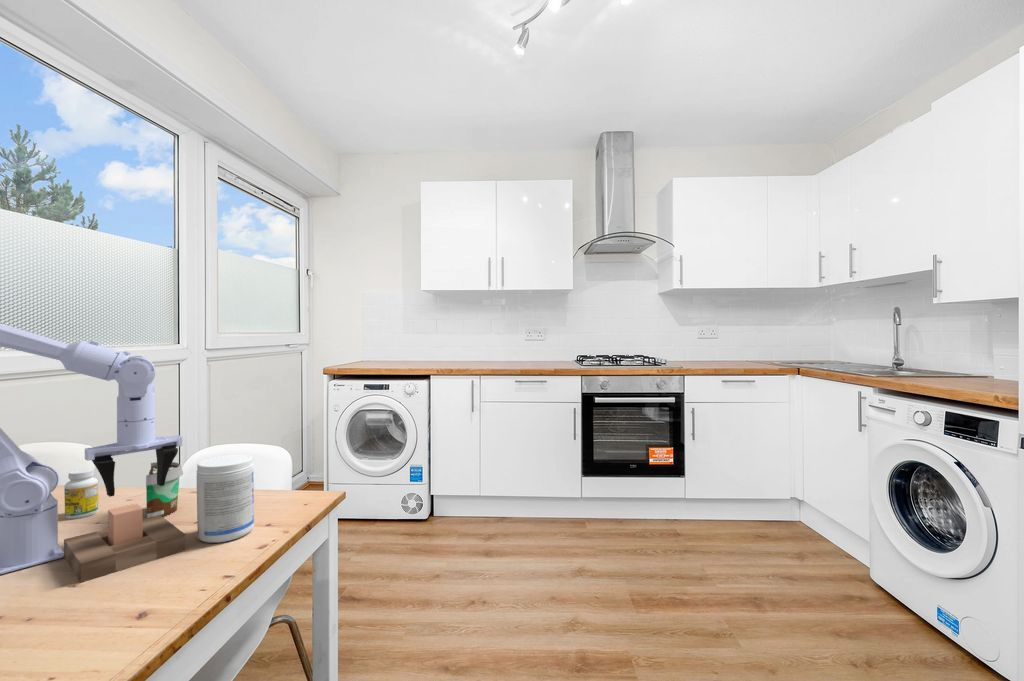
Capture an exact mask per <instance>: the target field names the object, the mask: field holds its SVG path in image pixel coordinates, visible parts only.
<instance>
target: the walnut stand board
mask: <svg viewBox="0 0 1024 681" xmlns="http://www.w3.org/2000/svg"><path fill="white" fill-rule="evenodd" d="M185 550H186V534H185V532H183V531H181V530H180V529H179V528H178V527H177V526H175V525H174V524H172V523H171V522H170V521H168V520H167V519H166V518H165V517H162V516H161V515H159V516H155V517H151V518H147V517H146V518H143V537H142V538H138V539H134V540H131V541H127V542H124V543H120V544H116V545H113V546H108V527H107V528H104V529H100V530H96V531H93V532H89V533H84V534H81V535H76V536H73V537H68V538H64V539H63V552H64V554H65V556H64V557H63V558H65V560H66V562H67V563H68V565H69V566H70V568H71V570H72V571H73V572H74V574H75V576H76V577H77V579H78V580H79V582H80V583H84V582H87V581H90V580H94V579H96V578H101V577H103V576H106V575H110V574H113V573H117V572H120V571H123V570H125V569H130V568H132V567H135V566H138V565H139V566H140V565H141V564H146V563H148V561H149V562H151V561H155V560H158V559H162V558H164V557H167V556H171V555H174V554H177V553H180V552H183V551H185Z"/></svg>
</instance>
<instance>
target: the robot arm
mask: <svg viewBox="0 0 1024 681" xmlns="http://www.w3.org/2000/svg"><path fill="white" fill-rule="evenodd" d="M0 347H2V348H6V349H12V350H16V351H19V352H23V353H27V354H32V355H36V356H41V357H44V358H48V359H53V360H57V361H60V362H61V363H62V366H63V367H64V369H65V370H66V371H69V372H73V373H77V374H81V375H85V376H87V377H91V378H96V379H100V380H104V381H107V382H110V381H112V380H114V381H116V382H117V383H118V384H117V386H118V395H117V397H116V442H115V443H108V444H104V445H99V446H94V447H86V448H84V459H85V461H87V462H88V461H91V462H92V464H93V465H94V466H95V467H96V470H97V471H98V473H99V475H100V477H101V479H102V480H103V484H104V487H105V491H106V495H107V496H108V497H110V498H111V497H114V496H115V493H116V492H115V491H116V490H115V468H116V461H114V458H113V457H114V456H115V457H116V456H121V455H127V454H129V455H130V454H134V453H140V452H147V451H152V450H154V451H155V455H156V462H157V484H158V485H159V486H163V485H165V480H166V476H167V473H168V470H169V468H170V465H171V463H172V462H174V459H175V458H176V457H177V455H178V452H179V448H178V447H182V446H183V440H184V439H183V436H182V435H179V434H178V435H171V436H159V437H156V395H155V393H154V392H155V390H156V389H155V384H154V379H155V377H156V366H155V365H154V362H152V361H151V360H149V359H148V358H146V357H143V356H141V355H133V356H131V354H132V352H131V351H128V350H124V351H120V350H117V349H114V348H113V349H112V348H109V347H106V346H102V345H101V342H100V341H97V340H94V339H93V340H90V341H85V340H80V341H76V342H73V343H66V342H63V341H59V340H56V339H53V338H49V337H47V336H44V335H39V334H38V333H34V332H30V331H26V330H24V329H20V328H17V327H14V326H11V325H8V324H4V323H0ZM59 478H60V477H59V474H58V471H56V470H55V469H54V468H53V467H52V466H49V465H46V464H43V463H41V462H39V461H38V460H37V459H36V457H34V456H32V455H31V454H29V453H27V452H25V451H24V450H22V449H21V448H20V447H19V446H18V445H17V443H15V442H14V441H13V440H12V438H10V437H9V435H7V433H6V432H5V431H4V430H3V429H2V428H1V427H0V575H3V574H6V573H7V574H8V573H10V572H14V571H18V570H21V569H25V568H26V569H27V568H30V567H33V566H37V565H39V564H43V563H48V562H52V561H55V560H58V559H62V558H65V557H64V556H65V554H64V550H63V549H62V548H61V546H60V545H59V536H58V535H59V534H58V533H59V532H58V531H59V530H58V526H59V523H58V521H59V520H58V518H59V513H58V511H59V510H58V507H59V504H58V499H57V498H55V497H54V495H53V494H52V493H53V491H55V490H56V488H57V486H58V484H59V481H60V479H59Z"/></svg>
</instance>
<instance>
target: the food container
mask: <svg viewBox="0 0 1024 681" xmlns="http://www.w3.org/2000/svg"><path fill="white" fill-rule="evenodd" d="M183 475H184V471H183V467H182V465H181V463H179V462H175V461H172V463H171V465H170V468H169V470H168V473H167V476H166V480H165V485H163V486H159V485H158V484H157V461H156V462H151V463H150V470H149V472H148V474H146V476H145V486H146V490H145V491H146V494H145V495H146V496H145V497H146V519H147V518H151V517H155V516H159V515H161V516H162V517H163V518H165V517H164V516H166V517H168V516H167V515H169V516H171V515H172V514H171V513H173V512H174V513H176V512H177V510H178V500H179V488H180V477H182V476H183ZM175 511H176V512H175ZM174 513H173V514H174ZM170 514H171V515H170Z"/></svg>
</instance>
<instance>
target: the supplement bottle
mask: <svg viewBox="0 0 1024 681" xmlns="http://www.w3.org/2000/svg"><path fill="white" fill-rule="evenodd" d="M94 471H95V470H94V468H81V469H75V470H71V471H69V472H68V480H69V481H67V482H66V483H65V484H64V489H63V490H64V517H65V519H68V520H75V519H76V518H77V519H83V518H86V516H87V517H90V515H91V516H93V515H95V514H97V513H98V512H99V481H98V479H97V478H96V477H93V476H94V475H95V472H94Z"/></svg>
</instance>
